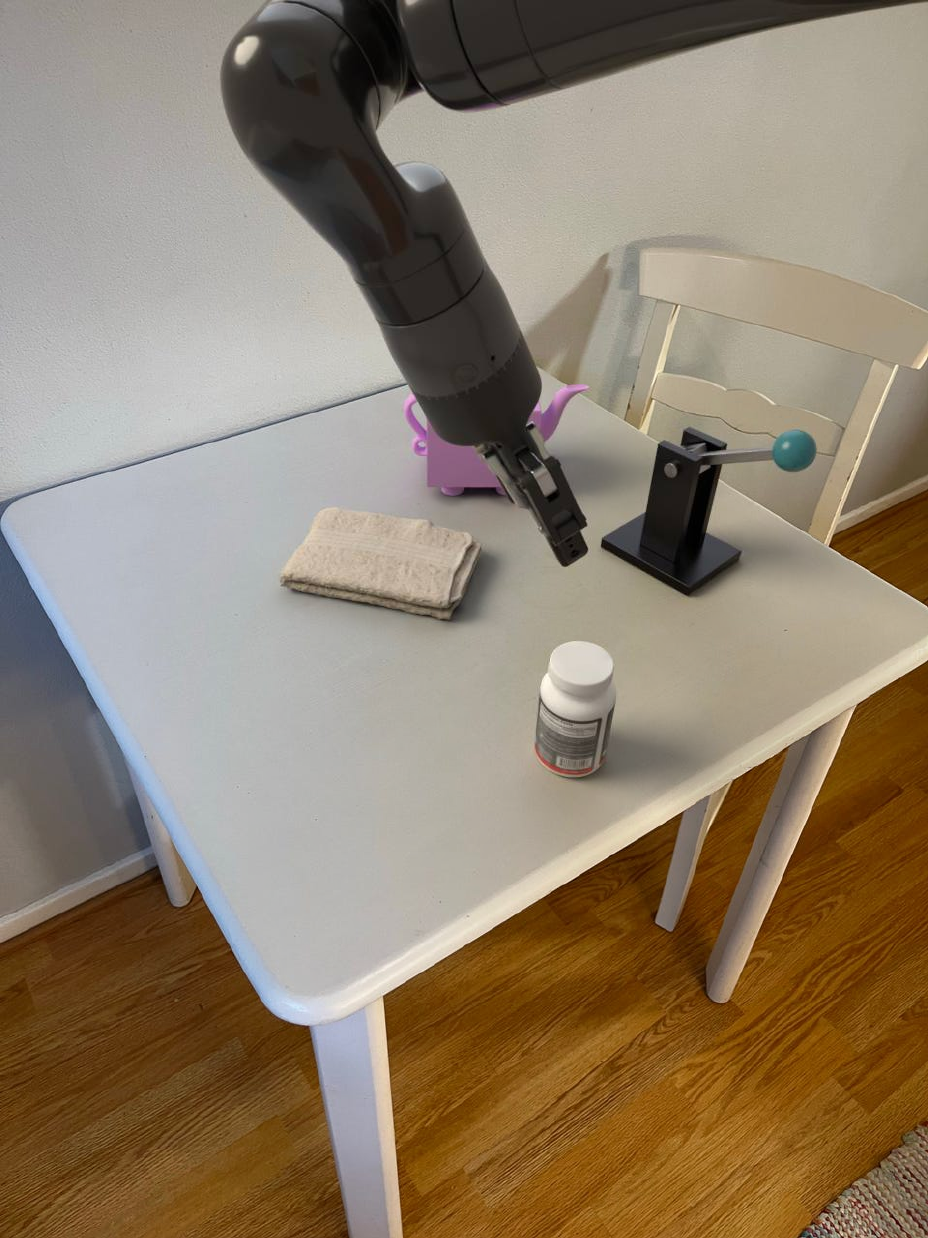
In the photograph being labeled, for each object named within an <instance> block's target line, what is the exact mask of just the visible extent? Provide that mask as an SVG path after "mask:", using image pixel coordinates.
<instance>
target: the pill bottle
mask: <svg viewBox="0 0 928 1238" xmlns="http://www.w3.org/2000/svg"><path fill="white" fill-rule="evenodd" d="M614 670H615V663H614V660H613V657H612V656H611V654H610V653H609V652H608V651H607V650H606V649H604V648H603V647H602V646H600V645H598V644H595V643H592V642H590V641H584V640H583V641H582V640H574V641H568V642H565V643H562V644H560V645H558V646H557V647H556V648H555V649H554V650H553V651H552V653H551V655H550V659H549V663H548V666H547V672H546V673H545V675H544V676H543V678H542V680H541V682H540V687H539V695H538V705H537V714H536V723H535V724H536V726H535V735H534V752H535V756H536V757H537V760H538V761H539V762H540V764H541V765H542V766H543V767H544V768H545V769H547V770H548V771H550V772H552V773H553V774H555V775H558V776H560V777H565V778H580V777H581V778H582V777H586V776H588V775H590V774H593V773H594V772H596V771H597V770H598V769H599V768H600V767H601V766H602V765H603V763H604V761H605V759H606V755H607V751H608V745H609V740H610V734H611V728H612V723H613V719H614V712H615V708H616V702H617V689H616V685H615V682H614V681H613V677H614Z"/></svg>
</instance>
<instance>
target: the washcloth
mask: <svg viewBox="0 0 928 1238" xmlns="http://www.w3.org/2000/svg"><path fill="white" fill-rule="evenodd" d="M482 548H483V544H482V543H480V542H478V541H474V540H473V535H472V534H471V533H470V532H466V531H460V530H454V529H451V528H447V527H443V526H441V525H437V524H434V523H433V521H431V520H430V519H426V518H419V519H418V518H417V519H415V518H407V517H405V518H404V517H399V516H395V515H389V514H387V513H386V514H385V513H378V512H374V511H373V512H372V511H371V512H370V511H361V510H354V509H348V508H344V507H343V508H342V507H339V506H334V507H327V508H322V509H320V510H319V512H318V513H317V514H316V515H315V517H314V519H313V521H312V523H311V525H310V527H309V529H308V532H307V535H306V537H305V538H304V540H303V542H302V544H301V545H299V546H297V547H296V548H295V550H294V551H293V553H292V554H291V555H290V556H289V558H288V560H286V563H285V564H284V567H282V569H281V570H280V573H279V577H278V581H279V583H280V587H284V588H286V589H291V590H295V591H298V592H302V593H309V594H315V595H317V596H325V597H328V598H333V599H335V598H337V599H342V600H347V601H352V602H353V601H354V602H361V603H368V604H371V605H377V606H381V607H385V608H387V609H393V610H401V611H403V612H405V613H411V614H412V615H413V614H414V615H421V616H432V617H433V618H437V619H438V620H439V621H440V620H451V616H452V614H453V612H454V610H455V609H456V608H457V607H458V606H459V605H460V603H461V601H462V600H463V598H464V595H465V593H466V591H467V588H468V585H469V581H470V579H471V577H472V575H473V572H474V570H475V567H476V565H477V563H478V561H479V558H480V556H481V554H482Z"/></svg>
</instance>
